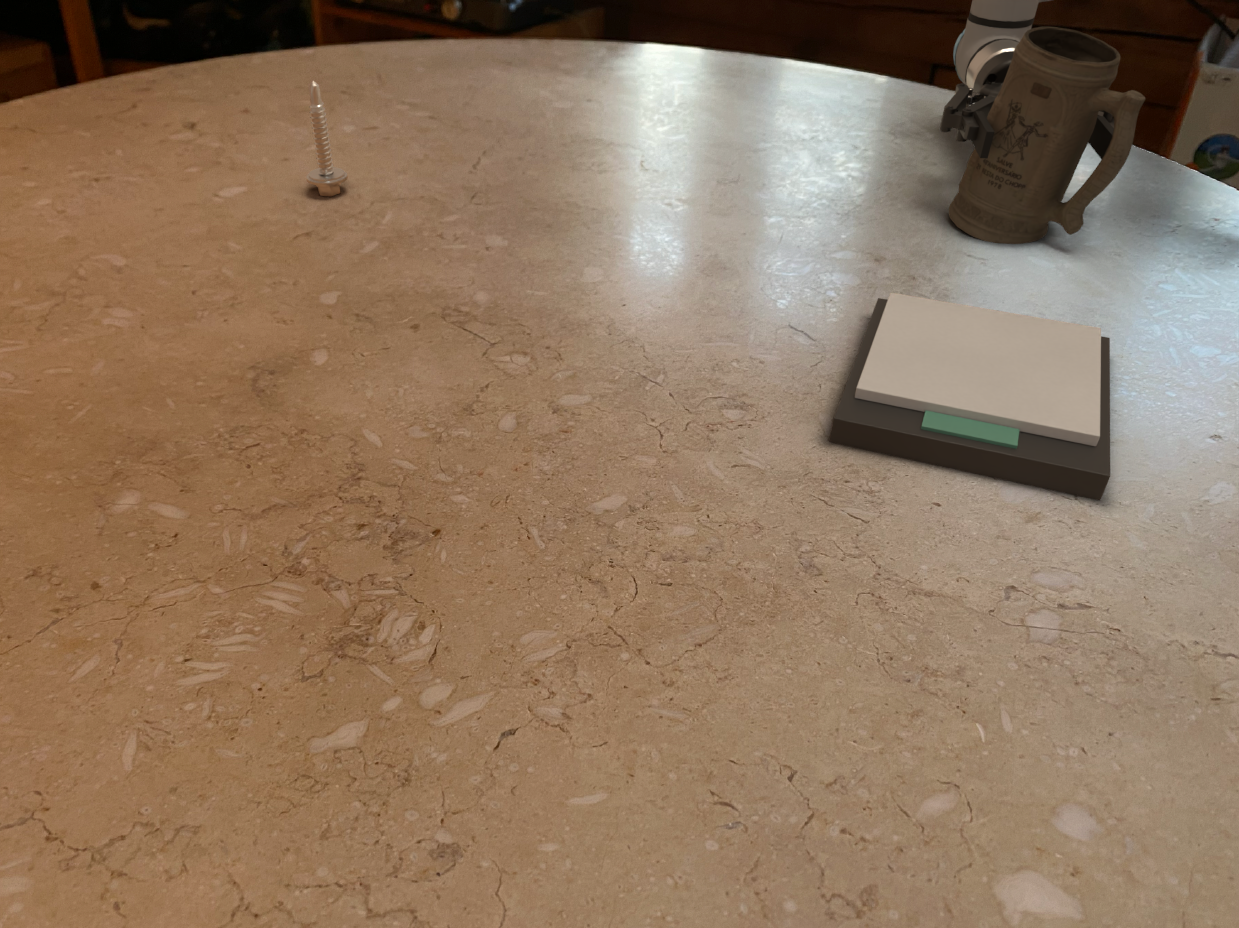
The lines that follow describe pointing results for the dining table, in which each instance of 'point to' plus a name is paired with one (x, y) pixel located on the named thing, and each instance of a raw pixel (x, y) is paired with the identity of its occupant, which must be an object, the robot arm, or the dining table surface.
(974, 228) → the beer stein
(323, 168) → the screw
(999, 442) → the scale
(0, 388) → the dining table surface
